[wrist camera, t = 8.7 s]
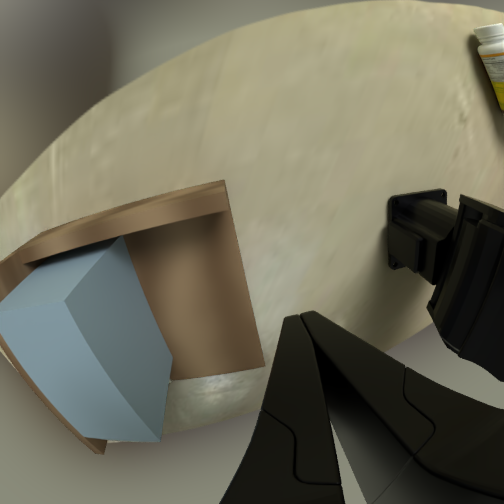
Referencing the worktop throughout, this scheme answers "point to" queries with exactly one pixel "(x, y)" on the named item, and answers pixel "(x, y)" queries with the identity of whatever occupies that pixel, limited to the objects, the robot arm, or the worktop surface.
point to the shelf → (166, 279)
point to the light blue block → (91, 342)
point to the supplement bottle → (493, 56)
